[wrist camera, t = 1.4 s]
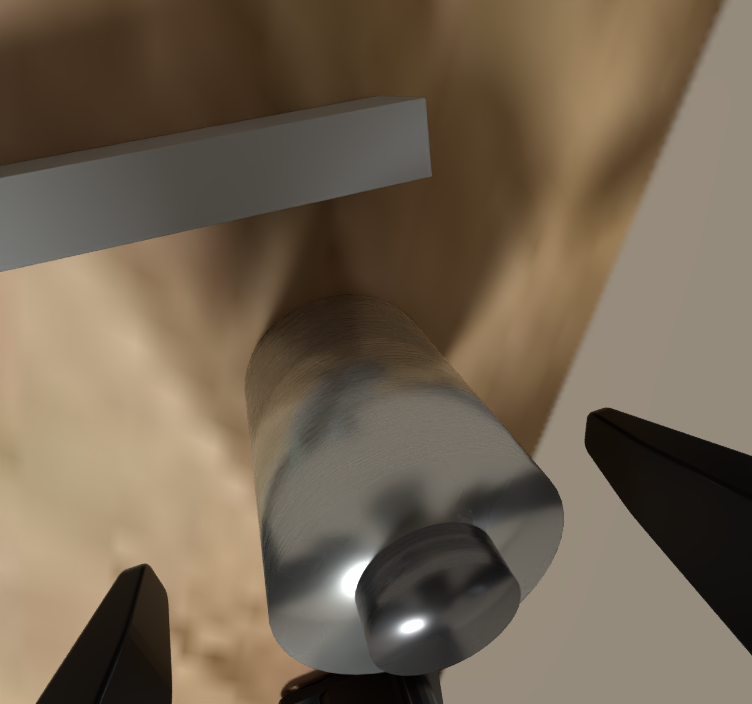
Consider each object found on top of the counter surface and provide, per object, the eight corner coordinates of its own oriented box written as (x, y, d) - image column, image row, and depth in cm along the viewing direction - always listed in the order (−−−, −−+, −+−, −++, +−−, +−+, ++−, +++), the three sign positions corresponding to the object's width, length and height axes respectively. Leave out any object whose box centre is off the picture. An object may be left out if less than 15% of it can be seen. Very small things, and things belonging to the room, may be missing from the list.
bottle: (435, 426, 14) (582, 648, 9) (273, 478, 13) (317, 763, 8) (419, 273, 12) (614, 445, 6) (217, 325, 11) (222, 585, 5)
